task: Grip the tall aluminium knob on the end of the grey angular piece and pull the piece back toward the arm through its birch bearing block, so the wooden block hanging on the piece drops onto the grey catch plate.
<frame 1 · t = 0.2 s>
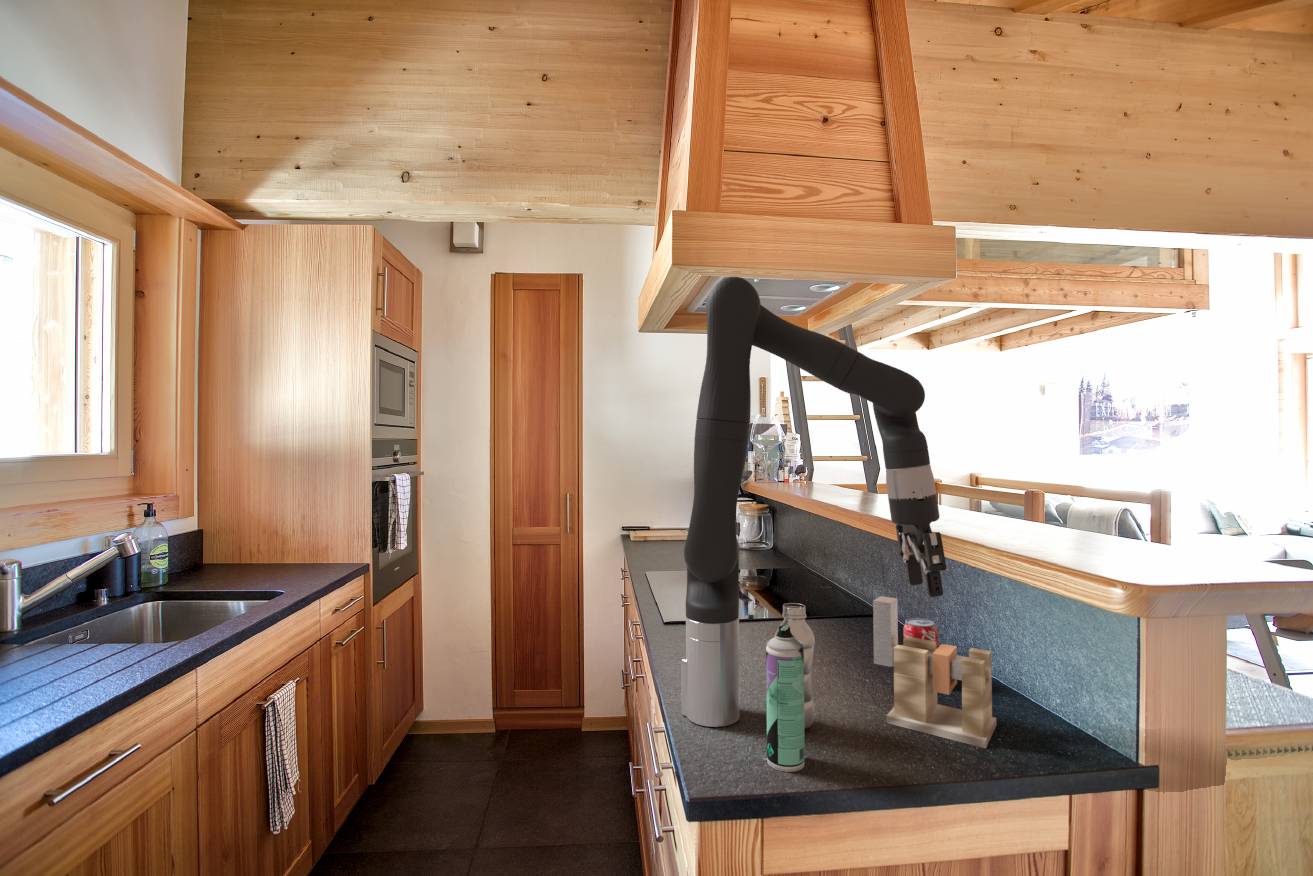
hand: (925, 590, 104), 23 cm above the worktop, tool pointing down, fingers open, 8 cm apart
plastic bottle: (795, 726, 104), on the worktop
wooden block: (945, 687, 104), point 6 cm above the worktop, touching grey angular piece
shaft stand: (931, 721, 105), on the worktop
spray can: (785, 763, 92), on the worktop
grey angular piece: (923, 637, 106), point 14 cm above the worktop, slide at 0.0 cm, touching wooden block
soda can: (920, 683, 122), on the worktop
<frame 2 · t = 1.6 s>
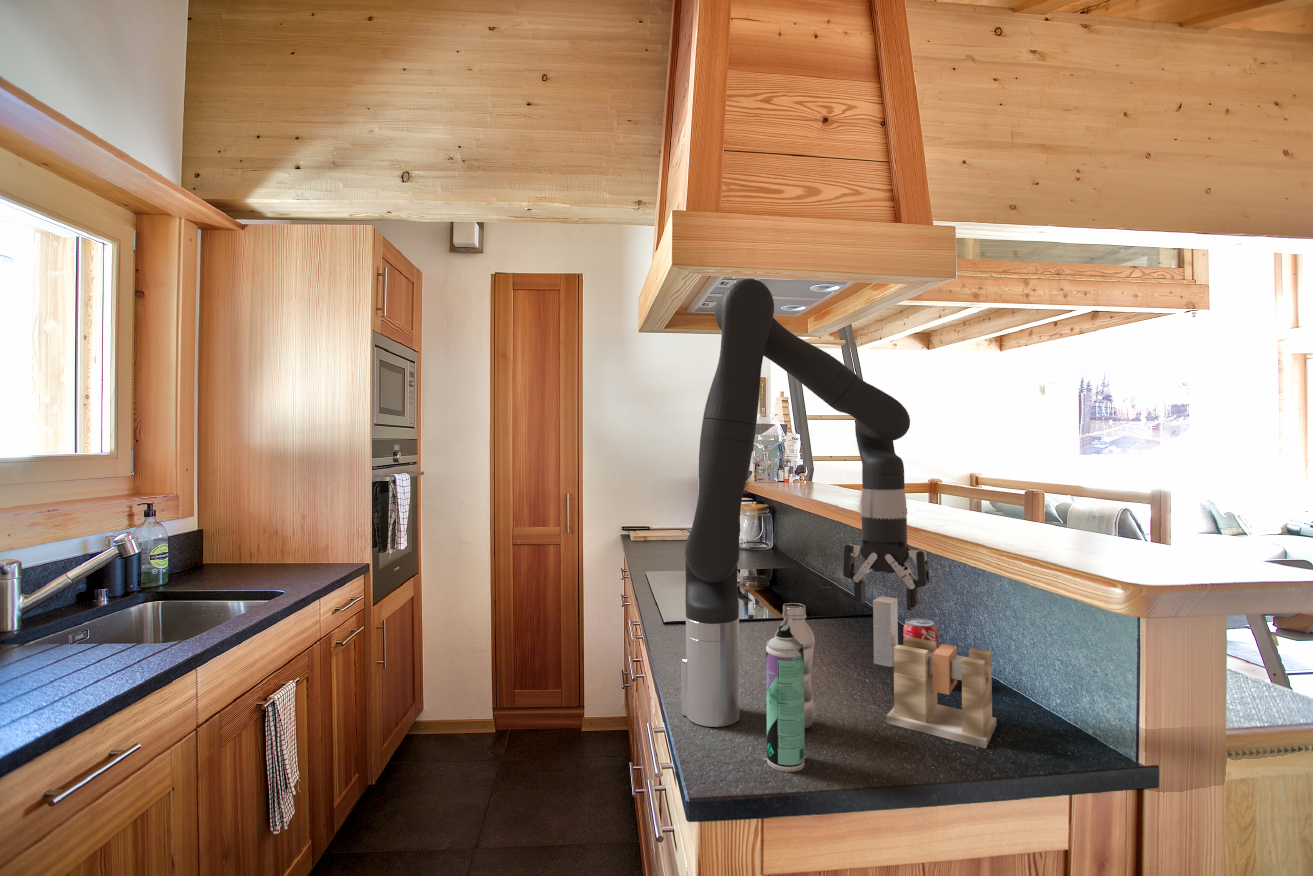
hand: (885, 606, 110), 18 cm above the worktop, tool pointing down, fingers open, 8 cm apart
nothing on the worktop moved.
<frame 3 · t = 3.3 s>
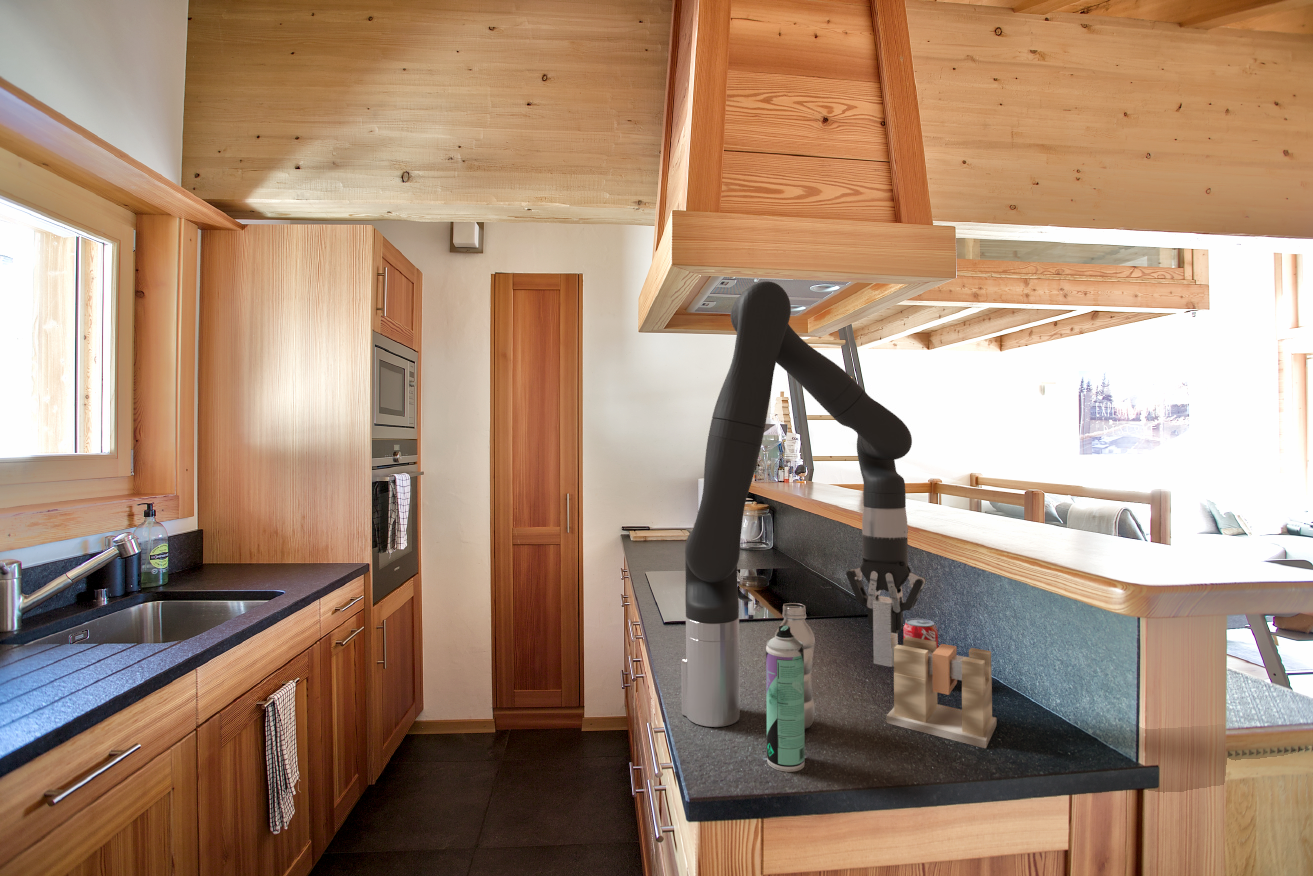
hand: (885, 630, 110), 14 cm above the worktop, tool pointing down, fingers closed on grey angular piece, 3 cm apart
grey angular piece: (922, 637, 106), point 14 cm above the worktop, slide at 0.0 cm, touching gripper, wooden block
everything else where it was.
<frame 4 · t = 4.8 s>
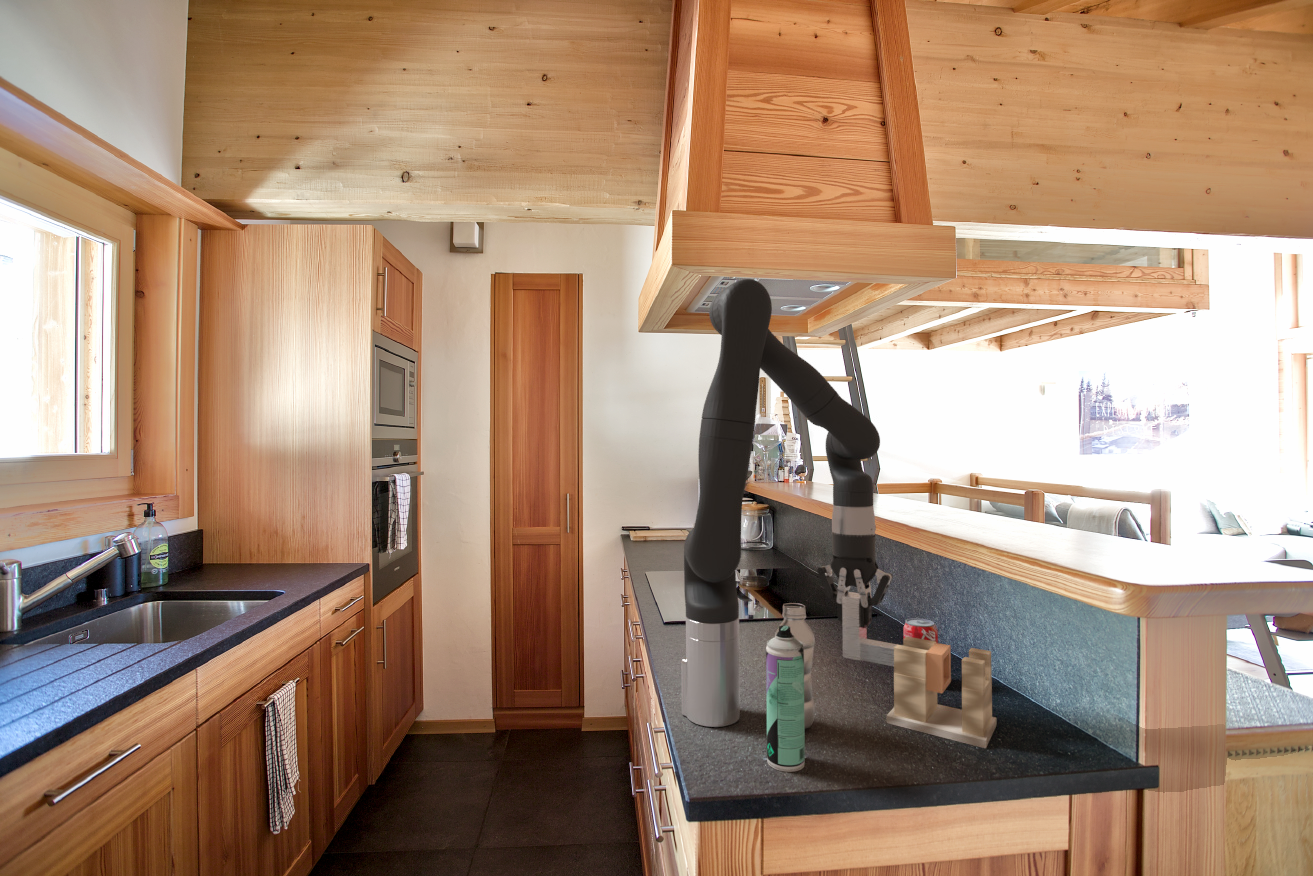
hand: (854, 624, 113), 14 cm above the worktop, tool pointing down, fingers closed on grey angular piece, 3 cm apart
grey angular piece: (889, 631, 109), point 14 cm above the worktop, slide at 5.6 cm, touching gripper, wooden block
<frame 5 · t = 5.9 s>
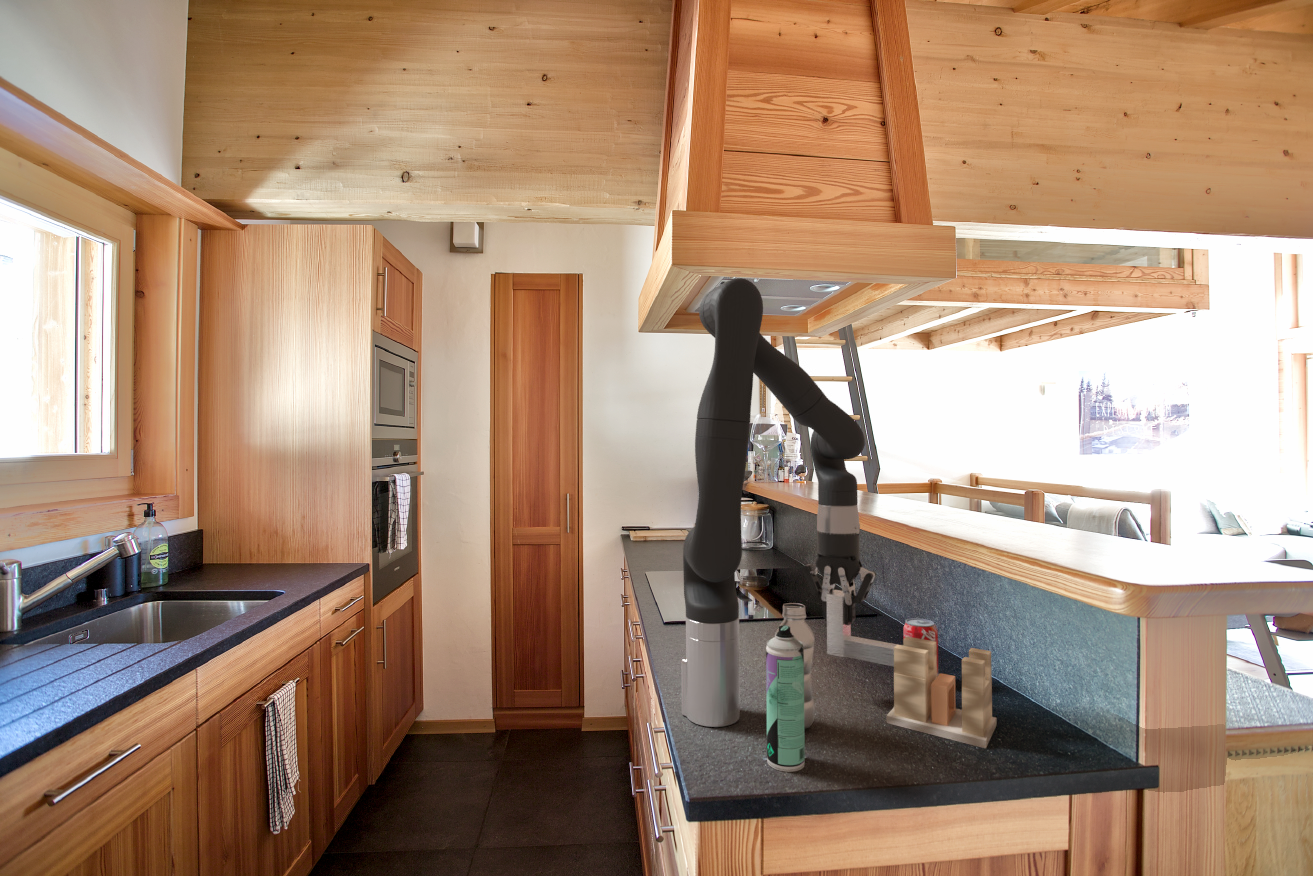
hand: (838, 622, 115), 14 cm above the worktop, tool pointing down, fingers closed on grey angular piece, 3 cm apart
wooden block: (943, 717, 104), point 1 cm above the worktop, touching shaft stand
grey angular piece: (872, 628, 111), point 14 cm above the worktop, slide at 8.5 cm, touching gripper
everything else where it was.
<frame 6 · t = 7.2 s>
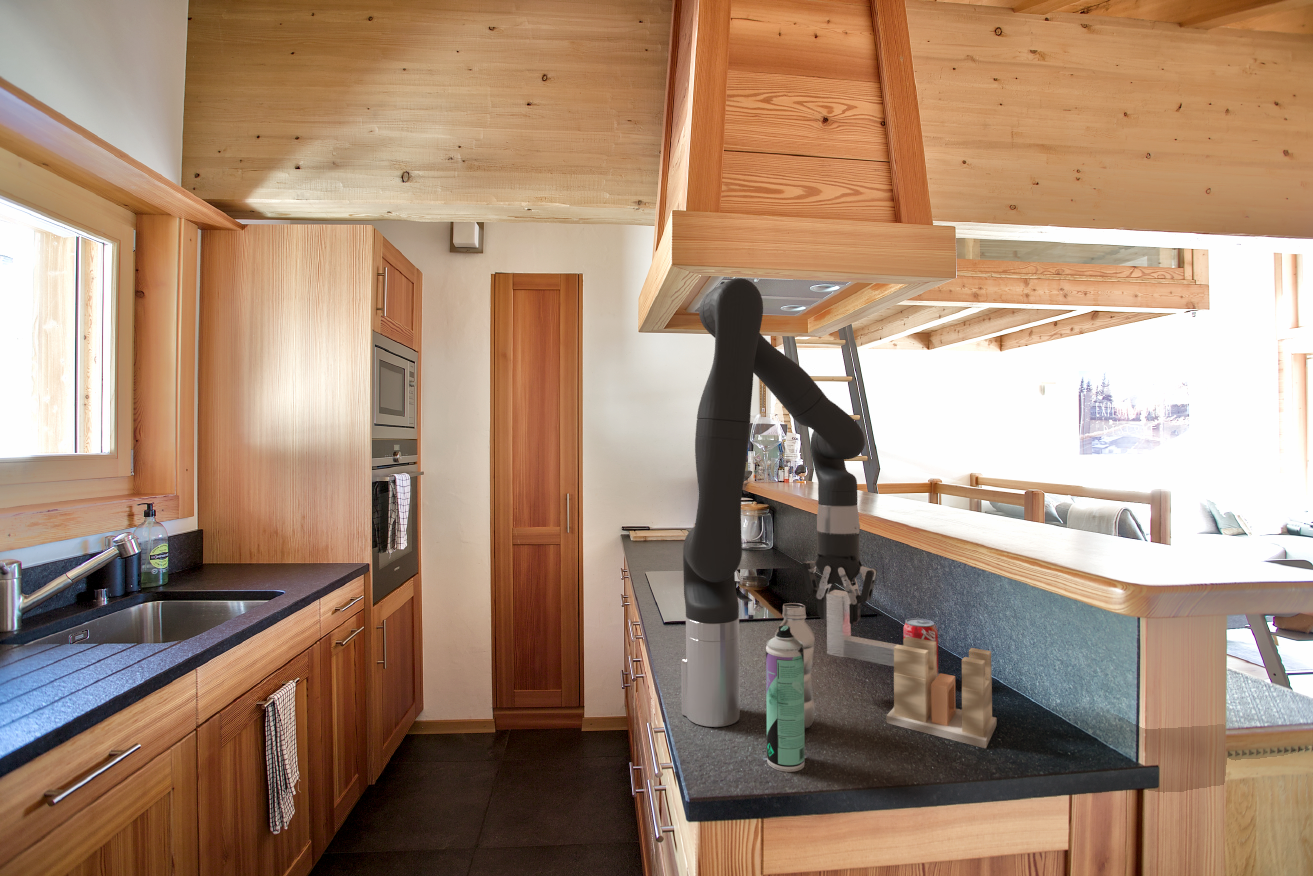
hand: (838, 620, 115), 14 cm above the worktop, tool pointing down, fingers open, 5 cm apart
grey angular piece: (872, 628, 111), point 14 cm above the worktop, slide at 8.5 cm
everything else where it was.
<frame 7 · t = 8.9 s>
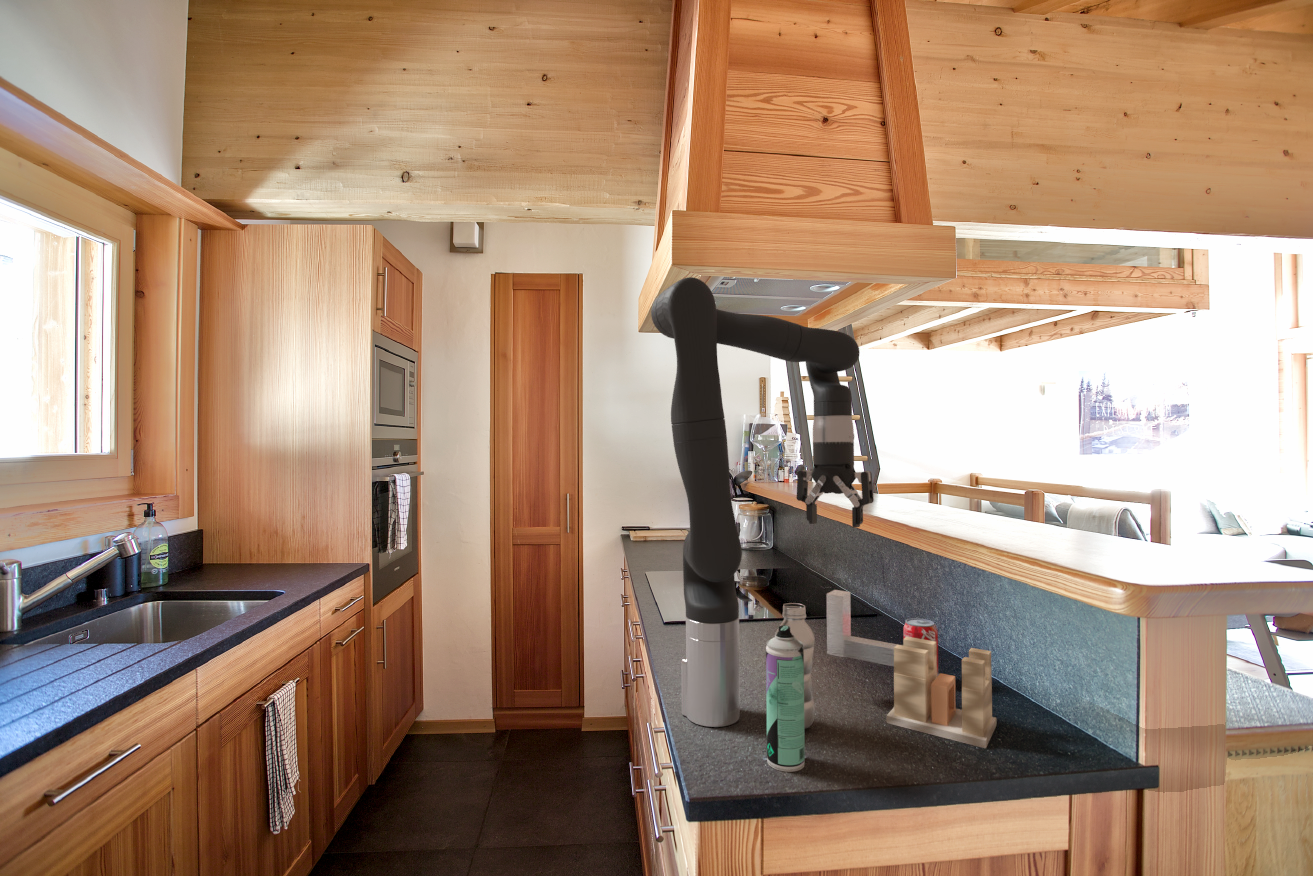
hand: (834, 525, 118), 32 cm above the worktop, tool pointing down, fingers open, 8 cm apart
nothing on the worktop moved.
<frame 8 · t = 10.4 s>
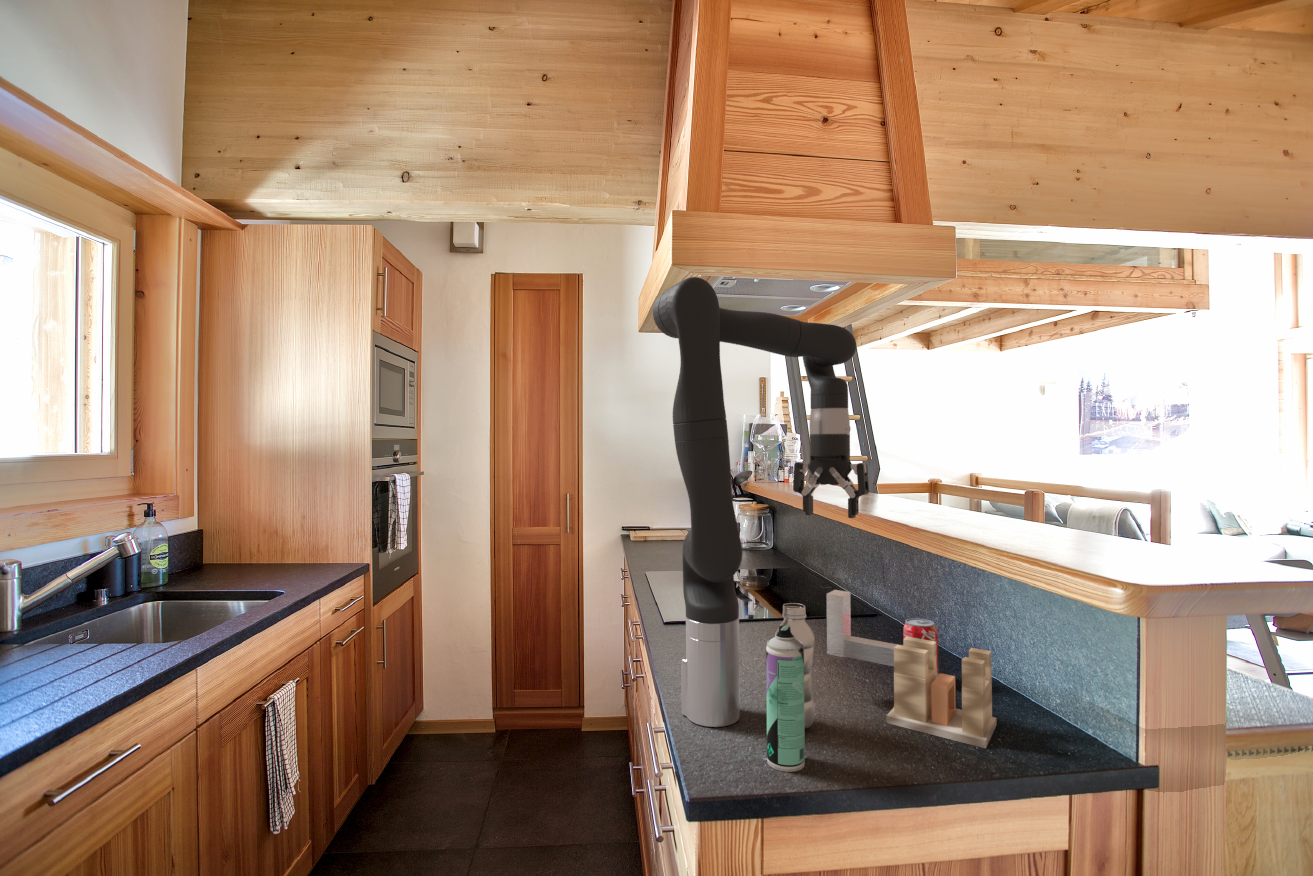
hand: (830, 516, 120), 33 cm above the worktop, tool pointing down, fingers open, 8 cm apart
nothing on the worktop moved.
at the end: grey angular piece slide at 8.5 cm; wooden block point 1.2 cm above the worktop; wooden block inside the target area on the shaft stand (1.1 cm from its centre), point 1.2 cm above the shaft stand's base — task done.
